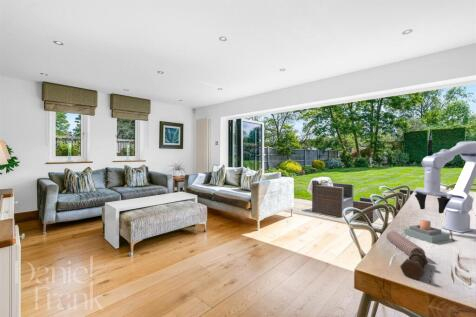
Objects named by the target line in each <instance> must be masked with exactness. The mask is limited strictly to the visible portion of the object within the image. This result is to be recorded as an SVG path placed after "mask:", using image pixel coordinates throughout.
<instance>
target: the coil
mask: <svg viewBox="0 0 476 317" xmlns="http://www.w3.org/2000/svg"><path fill="white" fill-rule="evenodd" d="M386 239H387V240H388V241H389V242H390V243H391V244H393V245H394V246H396V247H397V248H398V249H399V250H401V251H402V252H404V253H405V254H406V255H408V257H410V255H411V254H412V253H413V252H421V253H423V254H424V255H425V256H426V252H425V250H424V249H423V247H421V246H419V245H418V244H415V243H414V242H412V241H411V240H409V239H408V238H406V237H404V236H403V235H401V234H400V233H398V232H397V231H395V230H390V231H388V232H387V234H386Z"/></svg>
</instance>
